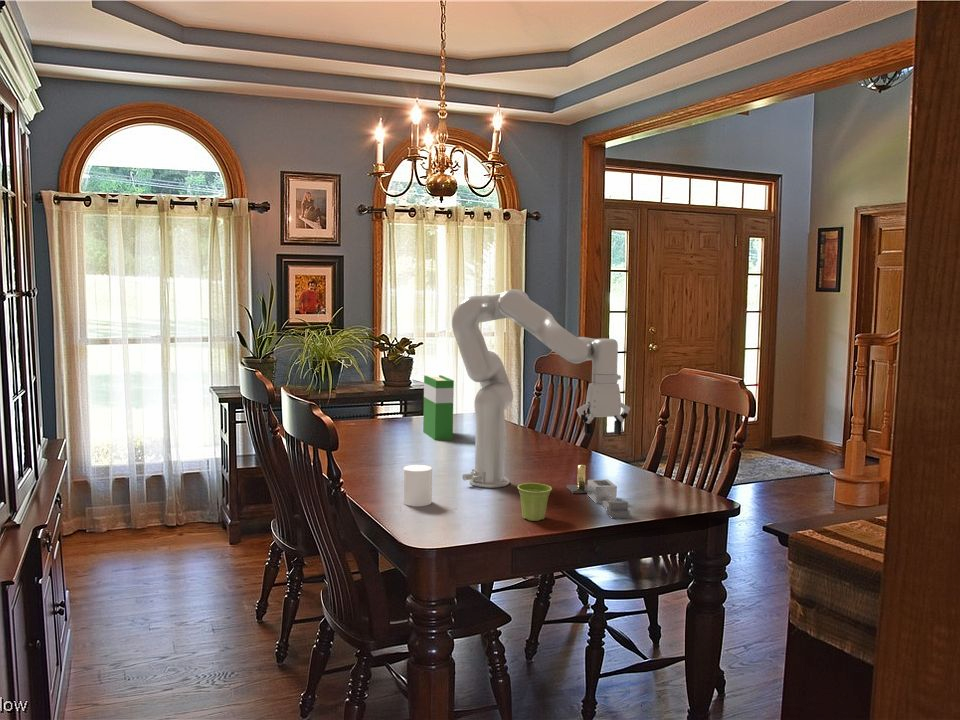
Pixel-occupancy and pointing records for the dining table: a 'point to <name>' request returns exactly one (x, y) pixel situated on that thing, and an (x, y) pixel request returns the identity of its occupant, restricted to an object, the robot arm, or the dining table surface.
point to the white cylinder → (417, 485)
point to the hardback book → (438, 407)
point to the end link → (601, 490)
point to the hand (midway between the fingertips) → (603, 435)
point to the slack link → (605, 504)
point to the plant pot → (534, 500)
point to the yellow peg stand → (579, 481)
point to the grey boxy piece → (618, 509)
